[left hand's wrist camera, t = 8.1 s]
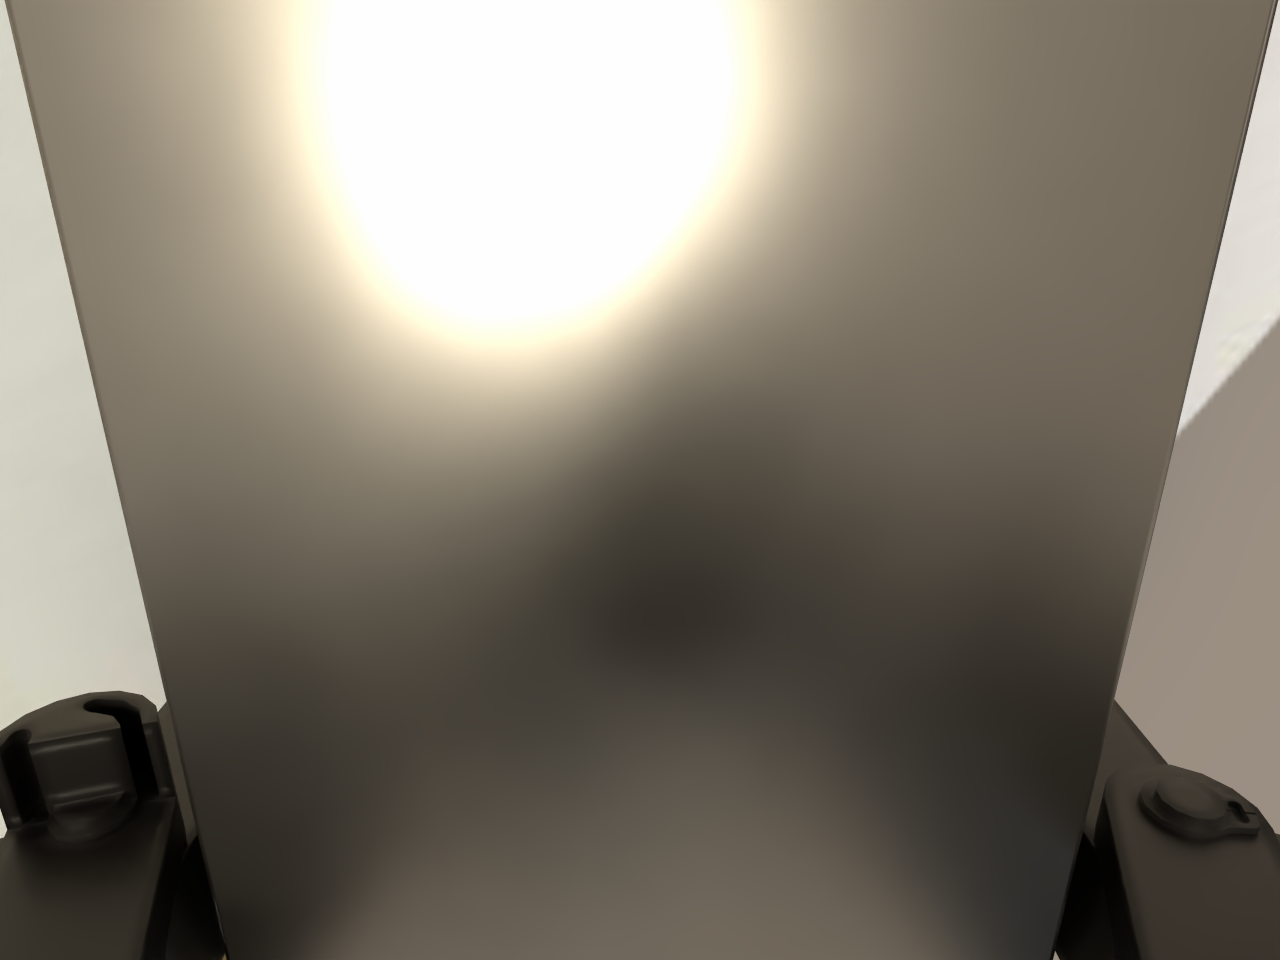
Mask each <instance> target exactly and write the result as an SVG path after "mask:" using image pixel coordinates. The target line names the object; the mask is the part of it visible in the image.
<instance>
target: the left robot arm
mask: <svg viewBox="0 0 1280 960" xmlns="http://www.w3.org/2000/svg"><path fill="white" fill-rule="evenodd" d="M0 809H1V812H2V815H3V818H4V821H5V824H6V827H7V832H6V834H5V837H4V838H1V839H0V960H222V959H223V957H224V955H225V951H224V946H223V942H222V938H221V933H220V929H219V925H218V921H217V916H216V912H215V908H214V903H213V899H212V895H211V890H210V886H209V882H208V877H207V873H206V869H205V864H204V860H203V856H202V851H201V847H200V843H199V838H198V834H197V830H196V825H195V821H194V817H193V812H192V808H191V804H190V799H189V795H188V791H187V786H186V782H185V778H184V773H183V769H182V765H181V760H180V756H179V752H178V747H177V743H176V739H175V734H174V730H173V726H172V722H171V717H170V713H169V709H168V704H167V702H166V703H165V704H164V705H163V707H162V708H161V709H160V710H159V712H157V708H156V705H154V704H153V703H152V702H151V701H149V700H148V699H147V698H145V697H144V696H143V695H139V694H134V693H128V692H123V691H109V692H94V693H87V694H83V695H79V696H75V697H71V698H67V699H63V700H59V701H56V702H54V703H51V704H49V705H47V706H44V707H42V708H40V709H37V710H35V711H33V712H30V713H28V714H26V715H24V716H22V717H21V718H19V719H18V720H16V721H15V722H13V723H12V724H10V725H9V726H7V727H6V728H4V729H3V730H1V731H0ZM1055 951H1056V953H1057V955H1058V957H1059V959H1060V960H1280V835H1279V834H1275V833H1274V830H1273V829H1272V827H1271V826H1270V824H1269V823H1268V822H1267V820H1266V819H1265V818H1264V816H1263V815H1262V814H1261V812H1260V811H1259V809H1258V808H1257V807H1255V806H1254V805H1253V804H1252V803H1250V802H1249V801H1248V800H1246V799H1245V798H1244V797H1242V796H1241V795H1240V794H1239V793H1237V792H1236V791H1235V790H1233V789H1232V788H1230V787H1228V786H1226V785H1224V784H1222V783H1220V782H1218V781H1216V780H1214V779H1212V778H1210V777H1208V776H1206V775H1204V774H1201V773H1198V772H1194V771H1191V770H1187V769H1184V768H1180V767H1177V766H1173V765H1168V764H1167V762H1166V761H1165V760H1164V759H1163V758H1162V756H1161V755H1160V754H1159V753H1158V752H1157V750H1156V749H1155V748H1154V747H1153V746H1152V744H1151V743H1150V742H1149V741H1148V740H1147V738H1146V737H1145V736H1144V735H1143V733H1142V732H1141V731H1140V730H1139V729H1138V727H1137V726H1136V725H1135V724H1134V723H1133V721H1132V720H1131V719H1130V718H1129V717H1128V715H1127V714H1126V713H1125V712H1124V711H1123V709H1122V708H1121V707H1120V706H1119V705H1118V703H1117V702H1116V701H1115V700H1114V701H1113V706H1112V710H1111V714H1110V718H1109V723H1108V727H1107V731H1106V736H1105V740H1104V744H1103V748H1102V753H1101V757H1100V761H1099V765H1098V770H1097V774H1096V778H1095V782H1094V787H1093V791H1092V795H1091V799H1090V804H1089V808H1088V812H1087V816H1086V821H1085V825H1084V829H1083V833H1082V838H1081V842H1080V846H1079V851H1078V855H1077V859H1076V863H1075V868H1074V872H1073V876H1072V880H1071V885H1070V889H1069V893H1068V897H1067V902H1066V906H1065V910H1064V914H1063V919H1062V923H1061V927H1060V931H1059V936H1058V940H1057V944H1056V948H1055Z"/></svg>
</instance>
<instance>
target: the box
mask: <svg viewBox="0 0 1280 960" xmlns="http://www.w3.org/2000/svg"><path fill="white" fill-rule="evenodd" d="M5 3H6V8H7V12H8V16H9V21H10V25H11V29H12V34H13V38H14V42H15V47H16V51H17V55H18V60H19V64H20V68H21V73H22V77H23V81H24V86H25V90H26V94H27V99H28V103H29V107H30V112H31V116H32V120H33V125H34V129H35V133H36V137H37V142H38V146H39V150H40V155H41V159H42V163H43V168H44V172H45V176H46V181H47V185H48V189H49V194H50V198H51V202H52V207H53V211H54V215H55V220H56V224H57V228H58V233H59V237H60V241H61V246H62V250H63V254H64V259H65V263H66V267H67V272H68V276H69V280H70V285H71V289H72V293H73V298H74V302H75V306H76V311H77V315H78V319H79V324H80V328H81V332H82V336H83V341H84V345H85V349H86V354H87V358H88V362H89V367H90V371H91V375H92V380H93V384H94V388H95V393H96V397H97V401H98V406H99V410H100V414H101V419H102V423H103V427H104V432H105V436H106V440H107V445H108V449H109V453H110V458H111V462H112V466H113V471H114V475H115V479H116V484H117V488H118V492H119V497H120V501H121V505H122V510H123V514H124V518H125V523H126V527H127V531H128V535H129V540H130V544H131V548H132V553H133V557H134V561H135V566H136V570H137V574H138V579H139V583H140V587H141V592H142V596H143V600H144V605H145V609H146V613H147V618H148V622H149V626H150V631H151V635H152V639H153V644H154V648H155V652H156V657H157V661H158V665H159V670H160V674H161V678H162V683H163V687H164V691H165V696H166V700H167V704H168V709H169V713H170V717H171V722H172V726H173V730H174V734H175V739H176V743H177V747H178V752H179V756H180V760H181V765H182V769H183V773H184V778H185V782H186V786H187V791H188V795H189V799H190V804H191V808H192V812H193V817H194V821H195V825H196V830H197V834H198V838H199V843H200V847H201V851H202V856H203V860H204V864H205V869H206V873H207V877H208V882H209V886H210V890H211V895H212V899H213V903H214V908H215V912H216V916H217V921H218V925H219V929H220V933H221V938H222V942H223V946H224V951H225V955H226V959H227V960H1053V957H1054V953H1055V948H1056V944H1057V940H1058V936H1059V931H1060V927H1061V923H1062V919H1063V914H1064V910H1065V906H1066V902H1067V897H1068V893H1069V889H1070V885H1071V880H1072V876H1073V872H1074V868H1075V863H1076V859H1077V855H1078V851H1079V846H1080V842H1081V838H1082V833H1083V829H1084V825H1085V821H1086V816H1087V812H1088V808H1089V804H1090V799H1091V795H1092V791H1093V787H1094V782H1095V778H1096V774H1097V770H1098V765H1099V761H1100V757H1101V753H1102V748H1103V744H1104V740H1105V736H1106V731H1107V727H1108V723H1109V718H1110V714H1111V710H1112V706H1113V701H1114V697H1115V693H1116V689H1117V684H1118V680H1119V676H1120V672H1121V667H1122V663H1123V659H1124V655H1125V650H1126V646H1127V642H1128V637H1129V633H1130V629H1131V625H1132V620H1133V616H1134V612H1135V608H1136V603H1137V599H1138V595H1139V591H1140V586H1141V582H1142V578H1143V574H1144V569H1145V565H1146V561H1147V557H1148V552H1149V548H1150V544H1151V540H1152V535H1153V531H1154V527H1155V523H1156V518H1157V514H1158V510H1159V505H1160V501H1161V497H1162V493H1163V488H1164V484H1165V480H1166V476H1167V471H1168V467H1169V463H1170V459H1171V454H1172V450H1173V446H1174V442H1175V437H1176V433H1177V429H1178V425H1179V420H1180V416H1181V412H1182V408H1183V403H1184V399H1185V395H1186V391H1187V386H1188V382H1189V378H1190V373H1191V369H1192V365H1193V361H1194V356H1195V352H1196V348H1197V344H1198V339H1199V335H1200V331H1201V327H1202V322H1203V318H1204V314H1205V310H1206V305H1207V301H1208V297H1209V293H1210V288H1211V284H1212V280H1213V275H1214V271H1215V267H1216V263H1217V258H1218V254H1219V250H1220V246H1221V241H1222V237H1223V233H1224V229H1225V224H1226V220H1227V216H1228V212H1229V207H1230V203H1231V199H1232V195H1233V190H1234V186H1235V182H1236V178H1237V173H1238V169H1239V165H1240V160H1241V156H1242V152H1243V148H1244V143H1245V139H1246V135H1247V131H1248V126H1249V122H1250V118H1251V114H1252V109H1253V105H1254V101H1255V97H1256V92H1257V88H1258V84H1259V80H1260V75H1261V71H1262V67H1263V63H1264V58H1265V54H1266V50H1267V45H1268V41H1269V37H1270V33H1271V28H1272V24H1273V20H1274V16H1275V11H1276V7H1277V3H1278V0H5Z"/></svg>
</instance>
